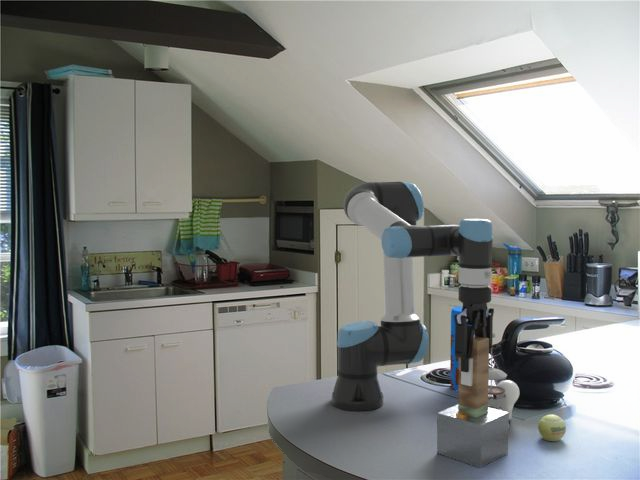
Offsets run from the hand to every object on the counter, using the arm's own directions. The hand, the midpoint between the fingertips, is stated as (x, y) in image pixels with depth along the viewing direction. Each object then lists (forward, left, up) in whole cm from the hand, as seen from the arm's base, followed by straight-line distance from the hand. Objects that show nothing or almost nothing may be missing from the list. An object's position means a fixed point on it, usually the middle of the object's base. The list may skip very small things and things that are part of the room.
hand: (473, 382), depth 166 cm
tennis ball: (+9, +22, -18) cm, 30 cm away
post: (0, 0, -12) cm, 12 cm away
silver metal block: (0, 0, -17) cm, 17 cm away
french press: (-8, +20, -18) cm, 28 cm away
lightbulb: (-6, +26, -18) cm, 32 cm away
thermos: (-30, +44, -18) cm, 56 cm away
